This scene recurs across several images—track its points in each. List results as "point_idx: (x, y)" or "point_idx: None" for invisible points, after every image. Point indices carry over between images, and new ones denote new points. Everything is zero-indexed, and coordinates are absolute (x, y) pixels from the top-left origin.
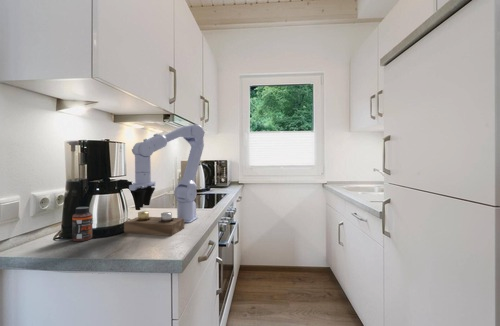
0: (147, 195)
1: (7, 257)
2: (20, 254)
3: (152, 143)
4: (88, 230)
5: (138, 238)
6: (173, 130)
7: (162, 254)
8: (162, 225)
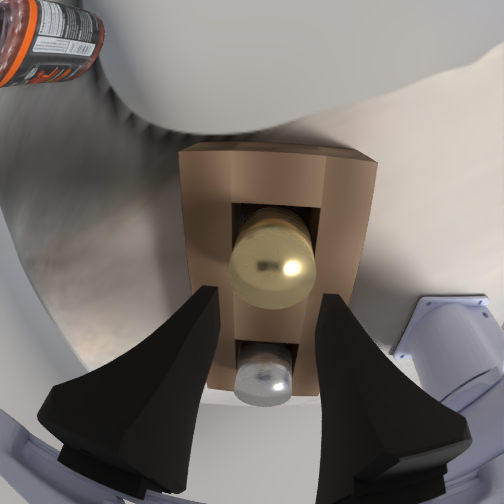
0: (329, 413)
1: None
2: None
3: None
4: (42, 82)
5: (146, 265)
6: None
7: (95, 360)
8: None
